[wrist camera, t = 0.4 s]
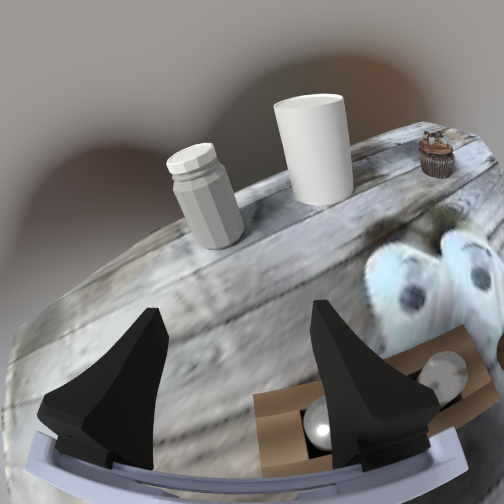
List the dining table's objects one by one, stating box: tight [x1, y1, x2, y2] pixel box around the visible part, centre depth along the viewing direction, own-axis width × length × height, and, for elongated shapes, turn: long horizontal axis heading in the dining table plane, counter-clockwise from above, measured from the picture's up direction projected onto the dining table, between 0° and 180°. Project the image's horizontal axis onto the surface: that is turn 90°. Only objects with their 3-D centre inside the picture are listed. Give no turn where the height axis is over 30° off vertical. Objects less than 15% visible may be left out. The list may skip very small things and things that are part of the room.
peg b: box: [304, 395, 332, 452], centre depth 18 cm, size 4×4×5 cm
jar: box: [167, 143, 245, 250], centre depth 47 cm, size 10×10×18 cm
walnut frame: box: [253, 324, 500, 478], centre depth 20 cm, size 10×23×5 cm, turn 96°
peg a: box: [415, 351, 468, 409], centre depth 17 cm, size 4×4×5 cm
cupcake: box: [419, 131, 455, 179], centre depth 49 cm, size 10×10×10 cm
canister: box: [274, 94, 354, 205], centre depth 51 cm, size 14×14×20 cm
